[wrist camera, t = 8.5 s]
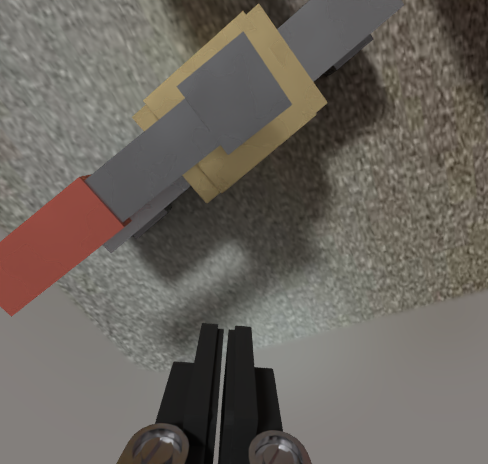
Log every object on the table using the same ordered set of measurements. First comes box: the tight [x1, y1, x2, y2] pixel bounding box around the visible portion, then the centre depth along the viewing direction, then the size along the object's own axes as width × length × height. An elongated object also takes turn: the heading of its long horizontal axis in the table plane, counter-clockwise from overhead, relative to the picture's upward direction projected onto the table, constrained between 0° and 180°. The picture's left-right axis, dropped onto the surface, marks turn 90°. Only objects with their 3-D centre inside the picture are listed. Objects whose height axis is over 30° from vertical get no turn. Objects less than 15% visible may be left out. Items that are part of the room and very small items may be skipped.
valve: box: [103, 0, 404, 253], centre depth 20 cm, size 22×6×9 cm, turn 129°
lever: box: [0, 31, 292, 316], centre depth 15 cm, size 15×3×3 cm, turn 127°
